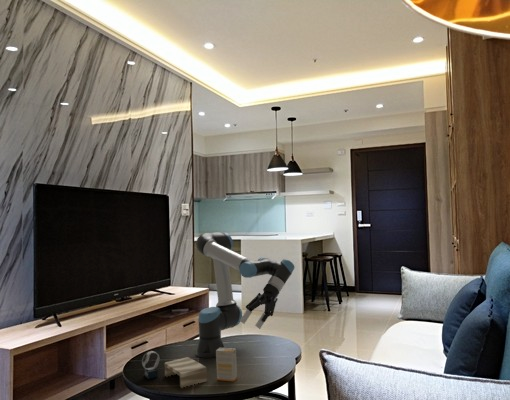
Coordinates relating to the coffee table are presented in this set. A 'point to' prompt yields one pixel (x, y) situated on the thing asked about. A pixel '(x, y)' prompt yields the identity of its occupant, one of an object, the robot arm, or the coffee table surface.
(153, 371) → the watch
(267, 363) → the coffee table surface
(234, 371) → the supplement box
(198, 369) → the grooved beige block
